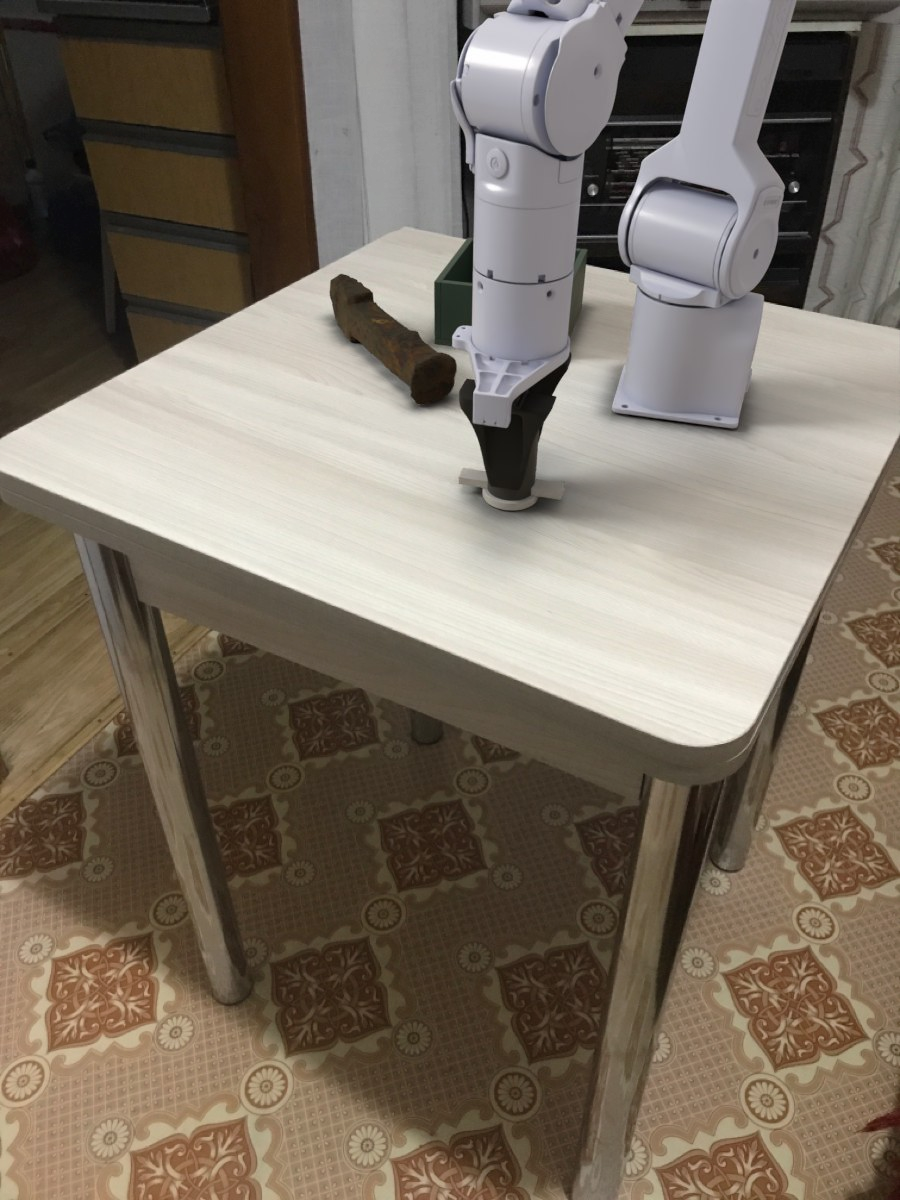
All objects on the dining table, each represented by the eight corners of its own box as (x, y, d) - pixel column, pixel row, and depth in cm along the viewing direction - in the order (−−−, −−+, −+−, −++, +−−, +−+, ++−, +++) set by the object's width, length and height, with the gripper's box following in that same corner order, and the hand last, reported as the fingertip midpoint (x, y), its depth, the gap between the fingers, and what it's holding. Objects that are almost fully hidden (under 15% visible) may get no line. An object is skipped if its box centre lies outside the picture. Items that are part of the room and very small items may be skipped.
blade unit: (566, 487, 62) (576, 394, 58) (556, 518, 59) (565, 423, 55) (467, 472, 64) (469, 380, 59) (453, 502, 61) (453, 408, 56)
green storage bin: (581, 308, 86) (587, 249, 82) (560, 359, 77) (566, 296, 74) (466, 295, 88) (467, 237, 84) (434, 343, 80) (433, 281, 76)
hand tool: (458, 399, 72) (459, 343, 69) (413, 410, 70) (412, 353, 67) (363, 313, 85) (360, 263, 82) (323, 321, 83) (319, 270, 80)
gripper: (485, 218, 58) (480, 410, 66) (418, 307, 47) (422, 522, 56) (596, 228, 56) (575, 423, 65) (553, 323, 45) (535, 540, 54)
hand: (511, 470), depth 60 cm, fingers closed on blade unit, 3 cm apart
